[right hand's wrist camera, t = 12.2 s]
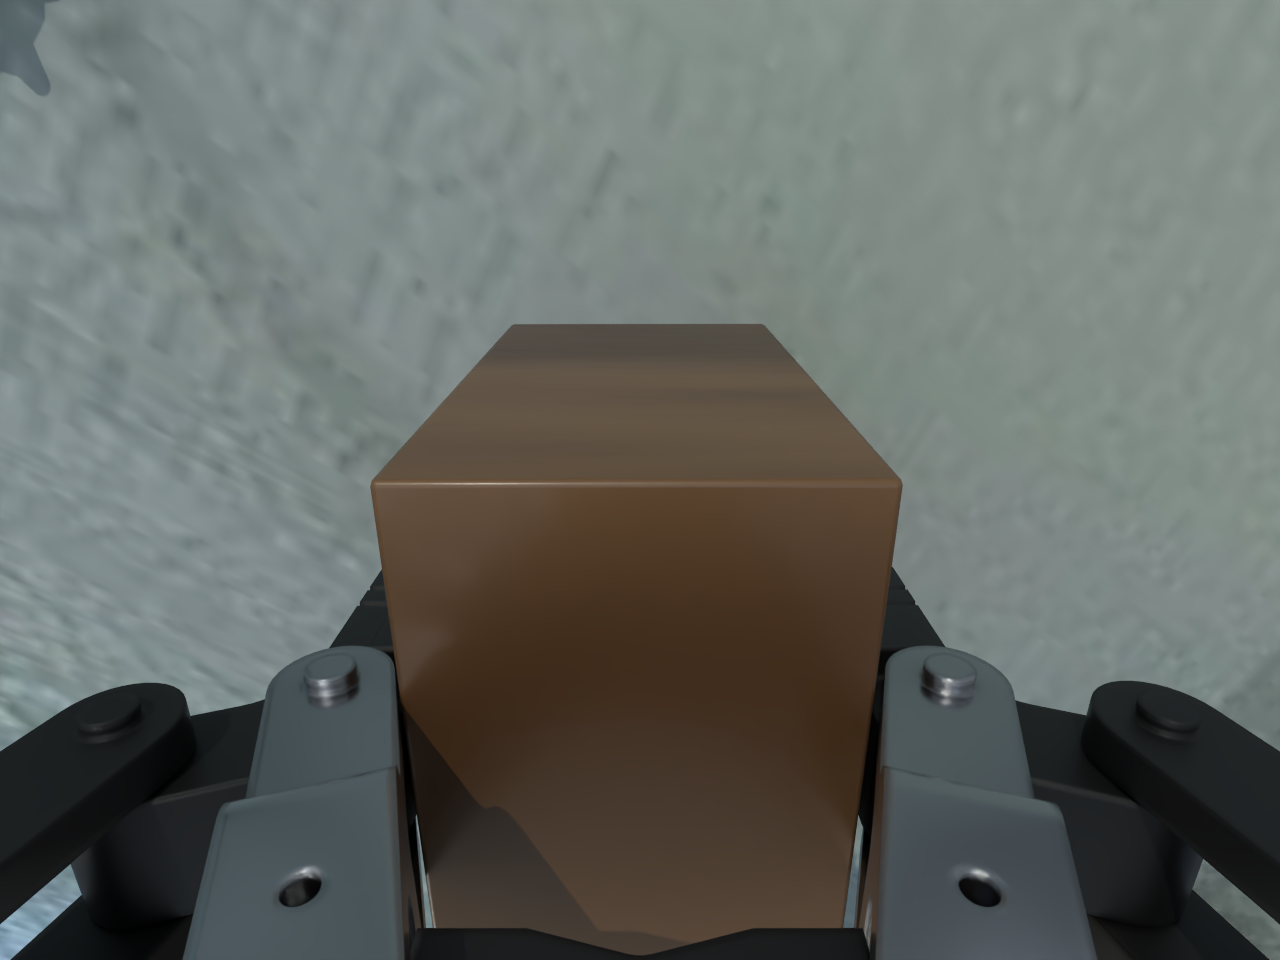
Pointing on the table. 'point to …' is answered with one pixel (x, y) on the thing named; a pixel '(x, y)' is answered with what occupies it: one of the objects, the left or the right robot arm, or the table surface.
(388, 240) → the table surface
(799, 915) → the block
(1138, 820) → the right robot arm
